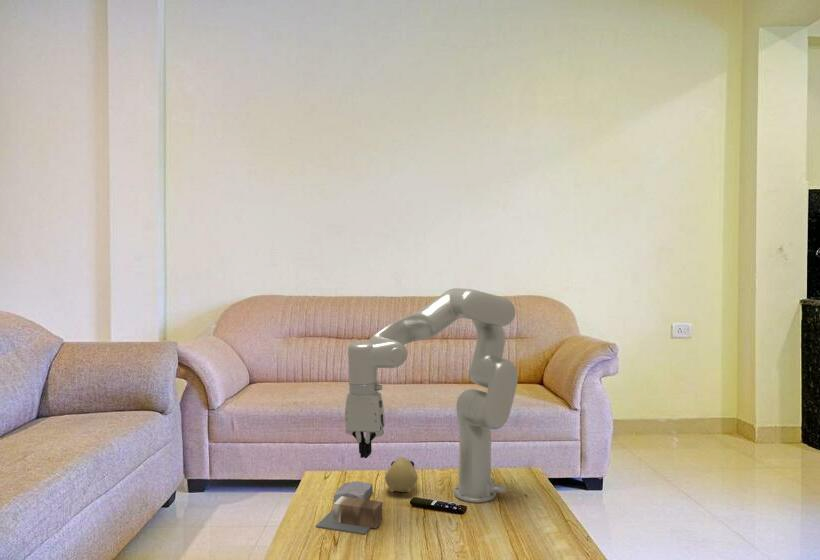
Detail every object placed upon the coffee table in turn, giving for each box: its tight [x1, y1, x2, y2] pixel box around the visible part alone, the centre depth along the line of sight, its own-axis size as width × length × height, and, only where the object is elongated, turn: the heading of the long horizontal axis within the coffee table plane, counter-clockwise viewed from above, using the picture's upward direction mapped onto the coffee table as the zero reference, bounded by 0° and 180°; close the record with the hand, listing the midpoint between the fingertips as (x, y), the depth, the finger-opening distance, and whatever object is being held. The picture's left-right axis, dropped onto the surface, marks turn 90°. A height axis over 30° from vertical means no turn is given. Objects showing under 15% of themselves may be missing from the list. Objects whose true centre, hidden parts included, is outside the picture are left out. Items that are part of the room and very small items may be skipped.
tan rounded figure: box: [384, 456, 418, 493], centre depth 175 cm, size 10×12×11 cm
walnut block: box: [333, 496, 383, 529], centre depth 153 cm, size 5×5×12 cm
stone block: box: [333, 480, 373, 503], centre depth 169 cm, size 12×5×10 cm
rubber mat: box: [315, 508, 372, 536], centre depth 154 cm, size 14×12×1 cm
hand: (365, 456), depth 153 cm, fingers closed
